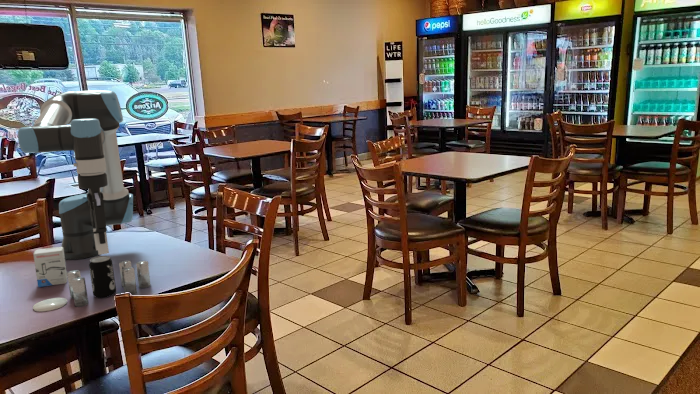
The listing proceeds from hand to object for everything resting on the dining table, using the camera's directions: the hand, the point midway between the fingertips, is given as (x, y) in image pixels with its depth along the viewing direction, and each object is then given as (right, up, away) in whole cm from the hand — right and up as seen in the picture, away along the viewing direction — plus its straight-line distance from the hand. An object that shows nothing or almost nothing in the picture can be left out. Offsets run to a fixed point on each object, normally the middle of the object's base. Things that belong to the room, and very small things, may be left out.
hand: (102, 251), depth 152 cm
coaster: (-18, -17, +4) cm, 25 cm away
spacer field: (-3, -15, +12) cm, 19 cm away
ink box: (-27, -13, +22) cm, 38 cm away
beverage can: (-4, -15, +11) cm, 19 cm away
